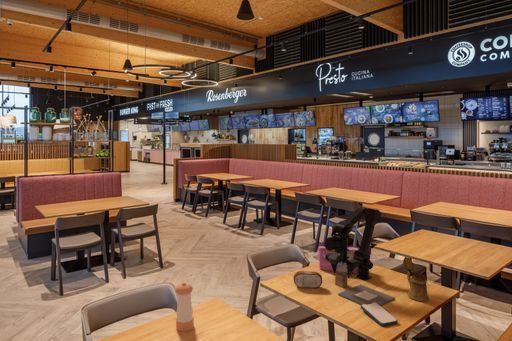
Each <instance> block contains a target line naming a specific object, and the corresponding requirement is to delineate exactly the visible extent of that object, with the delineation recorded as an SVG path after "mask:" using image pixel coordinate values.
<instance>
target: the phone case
mask: <svg viewBox="0 0 512 341" xmlns="http://www.w3.org/2000/svg"><path fill="white" fill-rule="evenodd" d="M360 309H361V310H363V312H365V313H366V314H367V315H368V316H369V317H370V318H371V319H372V320H374V321H375V322H376V323H377V324H378V325H379V326H380V327H387V326H392V325H396V324H397V325H398V319H397V318H396V317H395V316H394V315H393V314H391V313H390V312H389V311H387V310H386V308H384V307H383V306H380V305H379V304H378V303H376V302H372V303H367V304H362V305H360Z"/></svg>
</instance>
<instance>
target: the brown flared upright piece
mask: <svg viewBox="0 0 512 341" xmlns="http://www.w3.org/2000/svg"><path fill="white" fill-rule="evenodd" d="M402 263H403V266H404V268H405V269H406V271H407V275H406V276H407V277H406V278H407V281H408V284H409V291H408V293H407V296H408V298H409V299H411V300H413V301H415V302H427V301H429V295H428V288H427V283H428V281H427V277H426V275H424V274H422V273H416V272H415V271H414V269H415V268H414V267H415V265H414V262H413V260H412V259H410V258H409V257H408V256H404V258H403V260H402Z"/></svg>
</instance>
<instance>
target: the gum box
mask: <svg viewBox="0 0 512 341" xmlns="http://www.w3.org/2000/svg"><path fill="white" fill-rule="evenodd" d="M359 248H360V246H355V245H348V249H349V251H348V252H347V256H349V259H347V260H352V259H354V257H353V256H354V253H355V250H358V249H359ZM317 251H318V262H319V270H320V269H323V270H322V271H329V270H331V272H333V269H332V266H331V264H330V263H329V262H328V261H327V260H326V259H325V255H326V254H328V253H331V252H332V253H334V250H331V251H328V250H327V249H326V248H325V245H324V243H320V244H319V246H318V248H317ZM346 267H347V265H346V263H344V262H341V263H339V262H338V264H337V269H336V272H339V273H340V272H342V273H347V268H346ZM355 273H356V274H358V267H356V268H355V269H354V270H353V272H352V274H355Z"/></svg>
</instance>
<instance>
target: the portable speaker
mask: <svg viewBox="0 0 512 341" xmlns="http://www.w3.org/2000/svg"><path fill="white" fill-rule="evenodd" d="M293 283H294V285H295V286H297V288H301V289H302V288H303V289H319V288H320V287H321V286H322V284H323V277H322V274H321V273H319V272H317V271H304V270H303V271H302V270H299V271H297V272H295V274H294V275H293Z"/></svg>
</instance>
